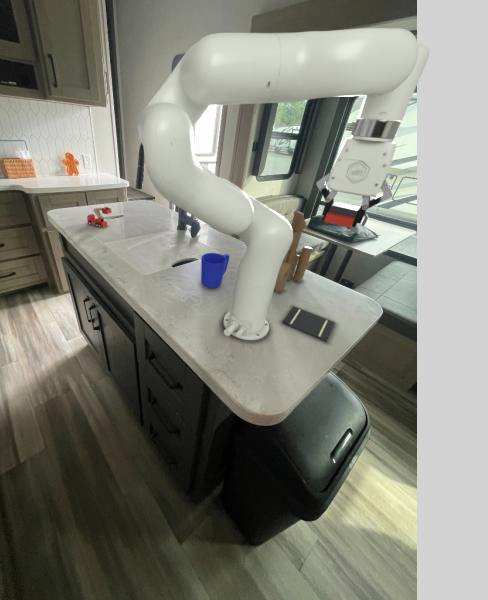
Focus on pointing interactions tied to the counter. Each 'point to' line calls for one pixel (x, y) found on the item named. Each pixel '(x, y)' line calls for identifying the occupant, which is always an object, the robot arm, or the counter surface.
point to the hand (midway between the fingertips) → (339, 221)
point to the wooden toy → (294, 256)
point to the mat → (309, 323)
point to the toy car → (341, 214)
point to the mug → (213, 269)
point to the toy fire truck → (100, 219)
